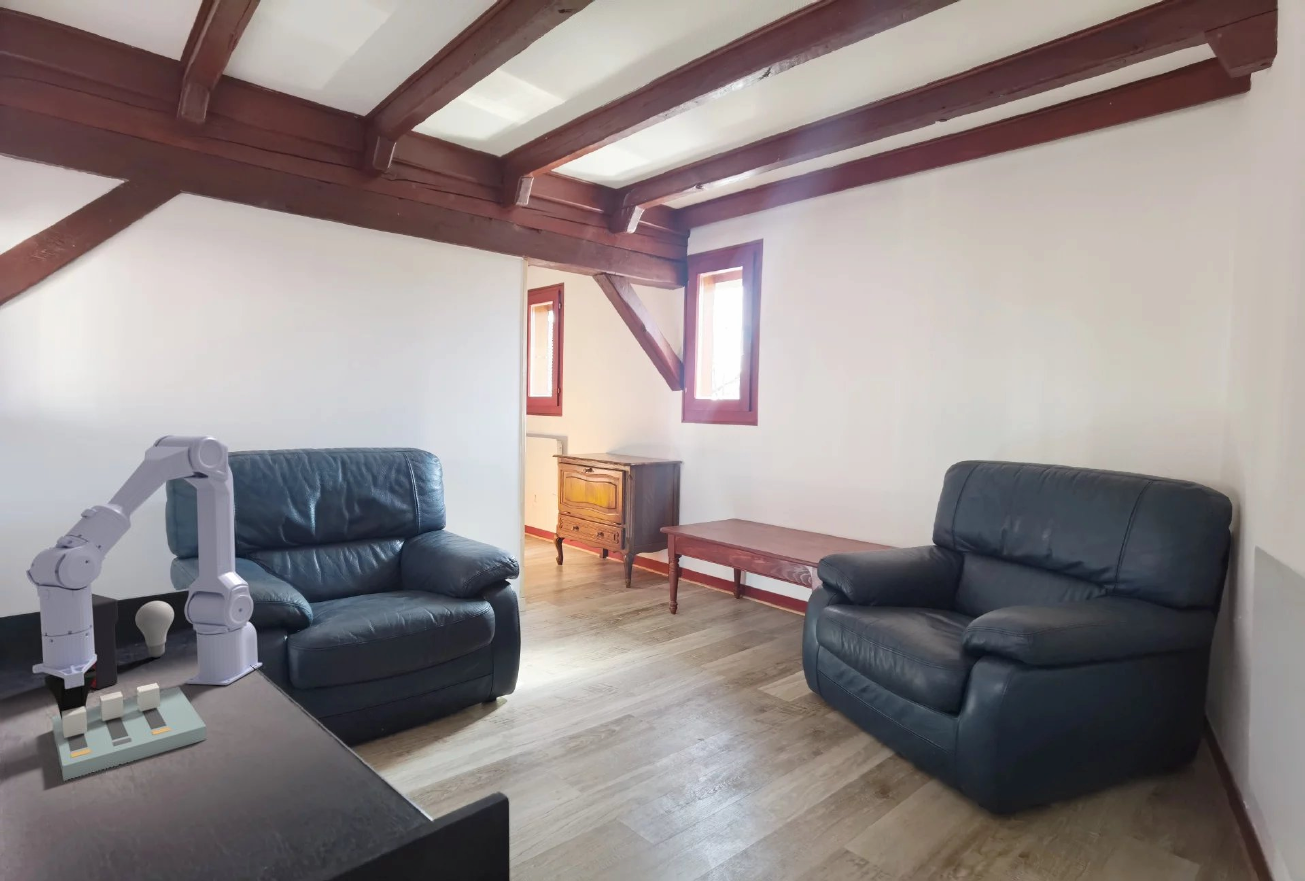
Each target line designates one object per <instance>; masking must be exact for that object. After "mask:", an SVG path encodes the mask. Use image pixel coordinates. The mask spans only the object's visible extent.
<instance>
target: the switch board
mask: <svg viewBox="0 0 1305 881" xmlns="http://www.w3.org/2000/svg"><path fill="white" fill-rule="evenodd" d="M159 693H160V707H156V708H152V709H148V710H144V711H141V712H140V710H139V708H138V703H137V696H135V697H131V698H130V697H129V698H126V699H123V708H124V716H121V717H117V718H113V719H109V720H105V721H103V720H102V718H101V711H100V705H97V706H93V707H90V708H85V709H86V716H87V732H86V733H82V734H78V735H74V736H70V737H66V738H64V734H63V723H62V719H61V716H60V715H56V716H53V717H51V718H52V720H51V722H52V732H53V736H54V737H53V738H54V743H55V746H56V751H57V757H58V756H59V757H58V761H59V765H60V770H62V771H61V776H62V779H63V782H66V781H69V780H68V779H70V780H72V779H71V778H73V779H75V778H74V777H77V778H79V777H78V776H80V777H82V776H81V775H83V776H86V775H85V774H87V773H90V774H92V773H91V772H93V771H97V772H99V771H98V770H100V771H102V770H101V769H104V770H106V768H107V769H110V768H109V767H111V768H114V767H116V766H117V767H118V766H120V765H119V764H121V765H123V764H124V765H125V764H127V762H128V763H130V762H134V760H135V761H137V760H141V759H144V758H148V757H151V756H155V755H158V754H161V753H165V752H168V751H171V750H175V749H178V748H181V747H186V746H188V745H189V746H190V745H192V744H195V743H198V742H202V741H206V740H207V739H208V737H207V725H206V724H205V723H204V721H203V720H202V718H201V717H200V715H199V713H198V712H197V711H196V709H195V708H194V707H193V705H192V704H191V703H190V701H189V699H188V698H187V697H186V695H185V694H184V693H183V691H182V690H181V688H180V686H176V687H171V688H168V689H167V688H166V689H164V690H163V689H162V690H159ZM113 766H114V767H113ZM87 775H88V774H87ZM65 780H66V781H65Z"/></svg>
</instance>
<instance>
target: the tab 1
mask: <svg viewBox="0 0 1305 881" xmlns="http://www.w3.org/2000/svg"><path fill="white" fill-rule="evenodd" d="M86 709H87V708H85V706H83V707H79V708H74V709H70V710H66V711H62V723H63V734H64V738H66V737H70V736H74V735H78V734H82V733H86V732H87V716H86Z"/></svg>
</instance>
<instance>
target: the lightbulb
mask: <svg viewBox="0 0 1305 881" xmlns="http://www.w3.org/2000/svg"><path fill="white" fill-rule="evenodd" d="M174 618H175V611H174V609H173V607H172V606H171V605H170V604H169V603H167V602H166V601H162V600H153V601H149V602H147V603H145V604H144V605H141V607H140V608H139V609H138V610H137V612H136V613H135V624H136V627H137V628H138V629H139V631H140V632H141V633H142V635H143V637H144V639H145V644H146V646H147V651H148V656H150V657H153V658H160V657H161V655H163V654H165V651H166V650H165V649H166V647H165V646H166V645H165V643H166V642H167V634H168V631H169V629H170V627H171V625H172V623H173V621H174Z"/></svg>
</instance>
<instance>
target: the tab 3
mask: <svg viewBox="0 0 1305 881" xmlns="http://www.w3.org/2000/svg"><path fill="white" fill-rule="evenodd" d="M159 691H160V686H159V685H158V683H157V682H154V683H150V684H146V685H141V686H137V687H136V697H137V703H138V708H139V710H140V712H141V711H144V710H148V709H152V708H156V707H160V693H159Z"/></svg>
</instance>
